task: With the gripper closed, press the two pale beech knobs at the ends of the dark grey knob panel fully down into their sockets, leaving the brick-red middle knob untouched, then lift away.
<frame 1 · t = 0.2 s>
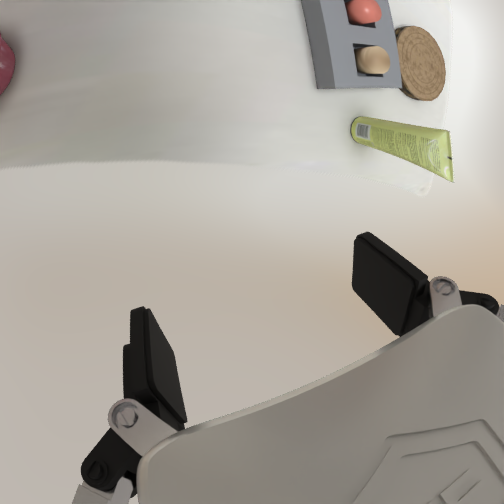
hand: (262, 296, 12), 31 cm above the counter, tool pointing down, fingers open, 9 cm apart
tube: (360, 130, 44), on the counter
knob panel: (341, 16, 32), on the counter
wood log slice: (412, 62, 39), on the counter
knob b: (370, 60, 32), point 5 cm above the counter, slide at 0.0 cm
knob red: (361, 11, 27), point 5 cm above the counter, slide at 0.0 cm
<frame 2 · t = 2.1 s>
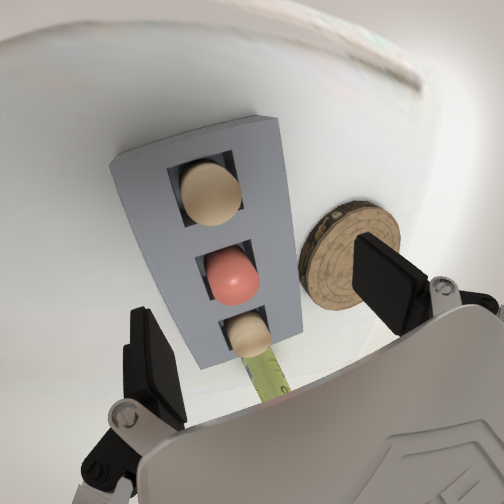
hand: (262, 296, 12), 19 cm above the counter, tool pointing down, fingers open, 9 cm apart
tube: (256, 355, 43), on the counter
knob panel: (218, 247, 32), on the counter
wood log slice: (346, 252, 39), on the counter
knob b: (246, 331, 32), point 5 cm above the counter, slide at 0.0 cm
knob a: (207, 190, 23), point 5 cm above the counter, slide at 0.0 cm
knob red: (230, 273, 27), point 5 cm above the counter, slide at 0.0 cm
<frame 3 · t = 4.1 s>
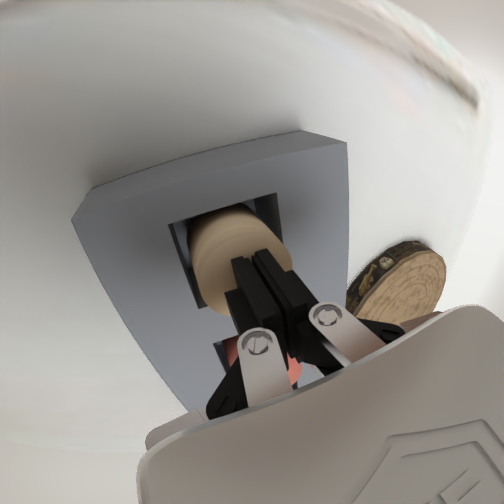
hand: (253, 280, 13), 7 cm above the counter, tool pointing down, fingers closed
knob panel: (238, 309, 23), on the counter
wood log slice: (385, 298, 31), on the counter
knob a: (234, 255, 15), point 5 cm above the counter, slide at 0.3 cm, touching gripper
knob red: (260, 356, 19), point 5 cm above the counter, slide at 0.0 cm
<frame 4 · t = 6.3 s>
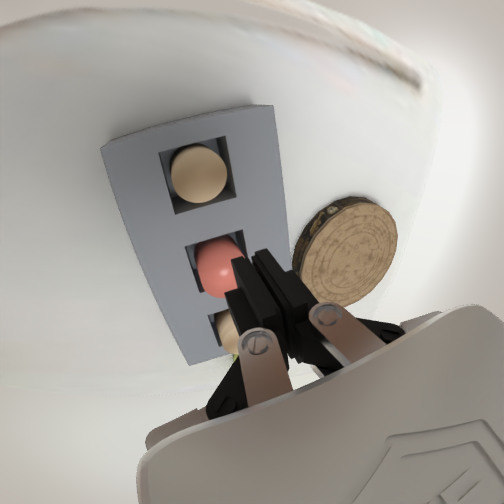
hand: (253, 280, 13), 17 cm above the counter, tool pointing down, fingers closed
knob panel: (209, 239, 31), on the counter
wood log slice: (341, 249, 38), on the counter
knob b: (237, 326, 31), point 5 cm above the counter, slide at 0.0 cm
knob a: (196, 170, 23), point 3 cm above the counter, slide at 2.1 cm
knob red: (220, 264, 26), point 5 cm above the counter, slide at 0.0 cm
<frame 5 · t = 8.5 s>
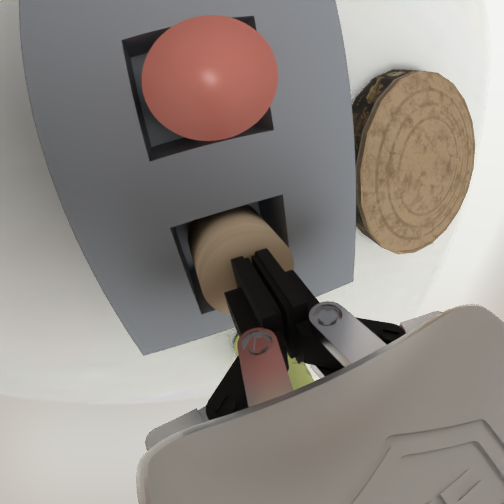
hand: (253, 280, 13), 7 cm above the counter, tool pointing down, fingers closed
tube: (259, 337, 25), on the counter
knob panel: (187, 89, 14), on the counter
wood log slice: (405, 157, 21), on the counter
knob b: (236, 254, 15), point 4 cm above the counter, slide at 0.8 cm, touching gripper
knob red: (201, 81, 9), point 5 cm above the counter, slide at 0.0 cm
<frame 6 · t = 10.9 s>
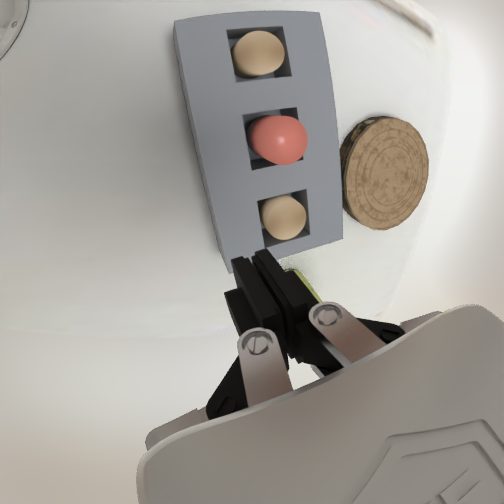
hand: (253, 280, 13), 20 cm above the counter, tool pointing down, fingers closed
knob panel: (258, 133, 29), on the counter
wood log slice: (378, 170, 36), on the counter
knob b: (279, 212, 31), point 3 cm above the counter, slide at 2.1 cm
knob a: (254, 55, 22), point 3 cm above the counter, slide at 2.1 cm
knob red: (275, 138, 25), point 5 cm above the counter, slide at 0.0 cm
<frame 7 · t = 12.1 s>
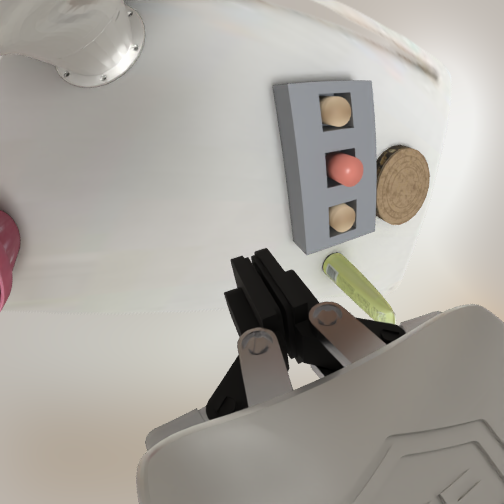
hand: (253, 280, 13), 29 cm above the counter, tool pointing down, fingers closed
tube: (332, 263, 55), on the counter
knob panel: (324, 160, 43), on the counter
wood log slice: (394, 182, 51), on the counter
knob b: (337, 214, 45), point 3 cm above the counter, slide at 2.1 cm
knob a: (330, 110, 36), point 3 cm above the counter, slide at 2.1 cm
knob red: (342, 168, 39), point 5 cm above the counter, slide at 0.0 cm
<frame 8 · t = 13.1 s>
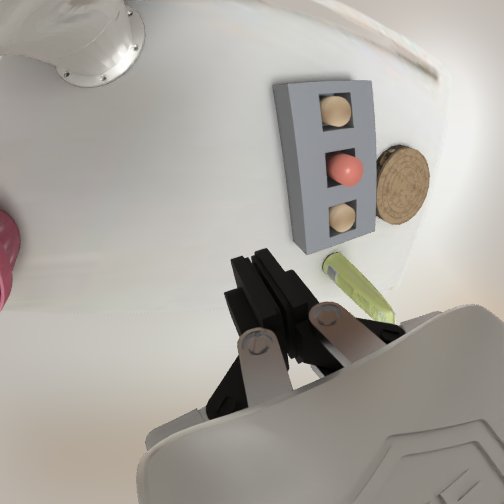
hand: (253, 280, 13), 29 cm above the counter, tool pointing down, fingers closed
tube: (332, 263, 55), on the counter
knob panel: (324, 160, 43), on the counter
wood log slice: (394, 182, 51), on the counter
knob b: (337, 214, 45), point 3 cm above the counter, slide at 2.1 cm
knob a: (330, 110, 36), point 3 cm above the counter, slide at 2.1 cm
knob red: (342, 168, 39), point 5 cm above the counter, slide at 0.0 cm
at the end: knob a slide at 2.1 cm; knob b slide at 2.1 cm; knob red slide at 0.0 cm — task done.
